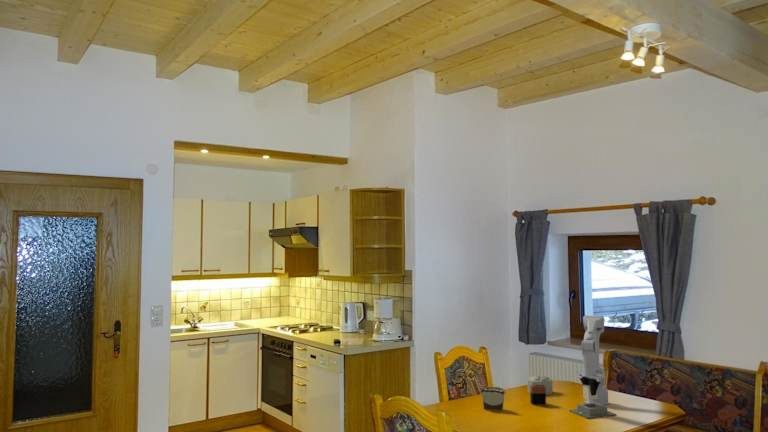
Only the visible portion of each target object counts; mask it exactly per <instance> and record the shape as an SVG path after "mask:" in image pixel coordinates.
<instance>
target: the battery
mask: <svg viewBox="0 0 768 432" xmlns="http://www.w3.org/2000/svg"><path fill="white" fill-rule="evenodd" d="M529 394H530V403H531V405H533V406H538V405H540V406H541V405H542V406H543V405H547V398H546V397H547V396H546V388H545V386H544V385H543V384H542V383H539V385H536V384H533V385H530V393H529Z"/></svg>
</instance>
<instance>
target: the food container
mask: <svg viewBox="0 0 768 432" xmlns="http://www.w3.org/2000/svg"><path fill="white" fill-rule="evenodd" d="M480 394H481V398H482V407H483V410H488V411H497V412H503V411H504V404H505V403H504V400H505V394H506V390H505V389H504V388H503V387H500V386H499V387H498V386H485V387H481V389H480Z"/></svg>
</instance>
